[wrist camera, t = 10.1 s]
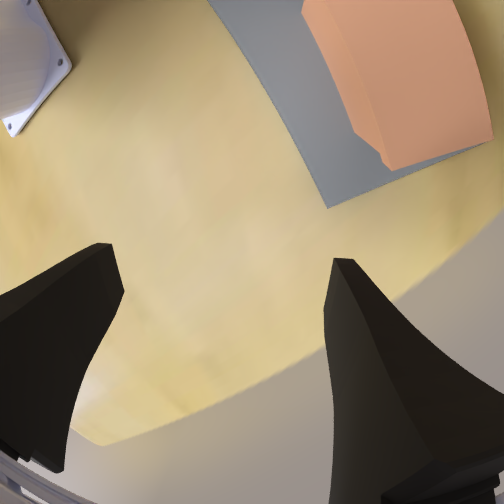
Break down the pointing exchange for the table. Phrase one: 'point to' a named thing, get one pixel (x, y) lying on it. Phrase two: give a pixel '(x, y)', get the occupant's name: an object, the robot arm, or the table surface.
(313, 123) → the slate mat
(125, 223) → the table surface
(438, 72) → the terracotta stool
